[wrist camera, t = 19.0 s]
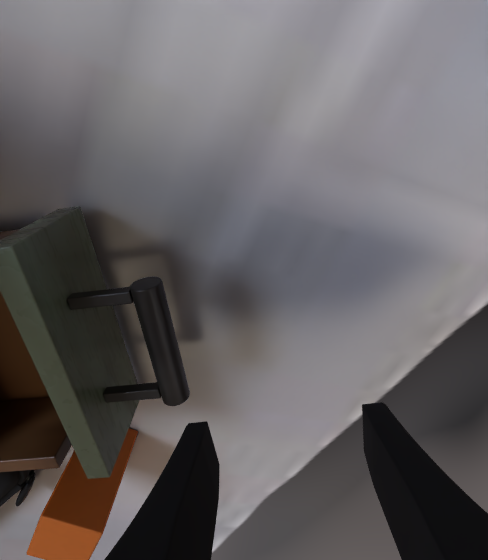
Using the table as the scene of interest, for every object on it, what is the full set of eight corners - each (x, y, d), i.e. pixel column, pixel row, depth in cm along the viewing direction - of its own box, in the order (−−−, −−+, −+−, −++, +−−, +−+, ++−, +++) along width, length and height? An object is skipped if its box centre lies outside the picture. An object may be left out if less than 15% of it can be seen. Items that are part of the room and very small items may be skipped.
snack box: (78, 450, 27) (25, 555, 21) (92, 414, 26) (40, 516, 19) (122, 464, 28) (83, 570, 21) (138, 430, 26) (102, 534, 20)
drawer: (164, 195, 18) (128, 232, 13) (207, 389, 23) (194, 471, 18) (-148, 235, 19) (-299, 283, 14) (-40, 410, 24) (-120, 494, 19)
